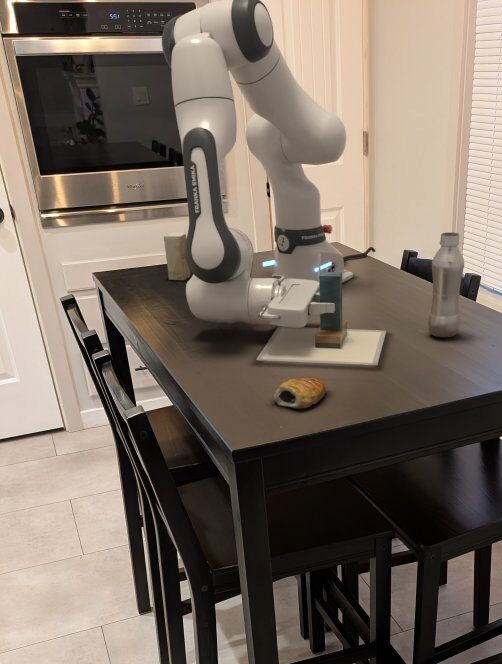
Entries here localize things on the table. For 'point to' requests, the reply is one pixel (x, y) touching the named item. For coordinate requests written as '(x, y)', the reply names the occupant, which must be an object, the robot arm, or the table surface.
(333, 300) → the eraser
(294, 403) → the pastry
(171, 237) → the box
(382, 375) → the table surface
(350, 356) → the whiteboard
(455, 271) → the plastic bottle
